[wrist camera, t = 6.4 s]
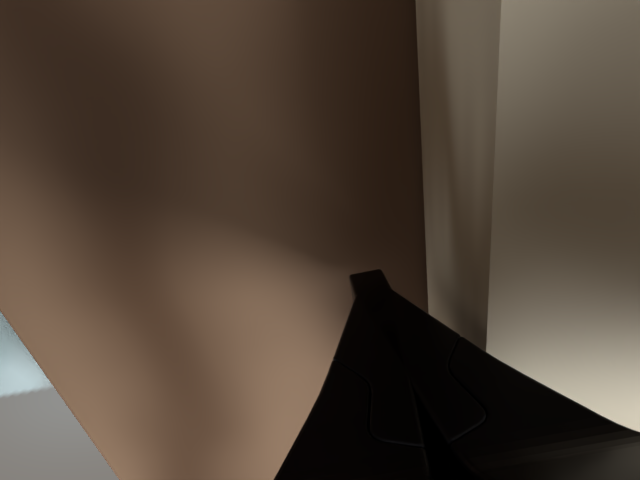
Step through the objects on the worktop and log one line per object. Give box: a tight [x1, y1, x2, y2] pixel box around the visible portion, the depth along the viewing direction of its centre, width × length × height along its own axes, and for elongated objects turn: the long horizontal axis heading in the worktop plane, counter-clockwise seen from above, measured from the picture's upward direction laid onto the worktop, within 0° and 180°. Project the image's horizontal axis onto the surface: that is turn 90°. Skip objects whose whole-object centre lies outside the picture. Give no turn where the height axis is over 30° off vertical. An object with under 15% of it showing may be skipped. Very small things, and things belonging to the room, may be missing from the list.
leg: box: [416, 0, 640, 432], centre depth 6 cm, size 13×3×4 cm, turn 9°
